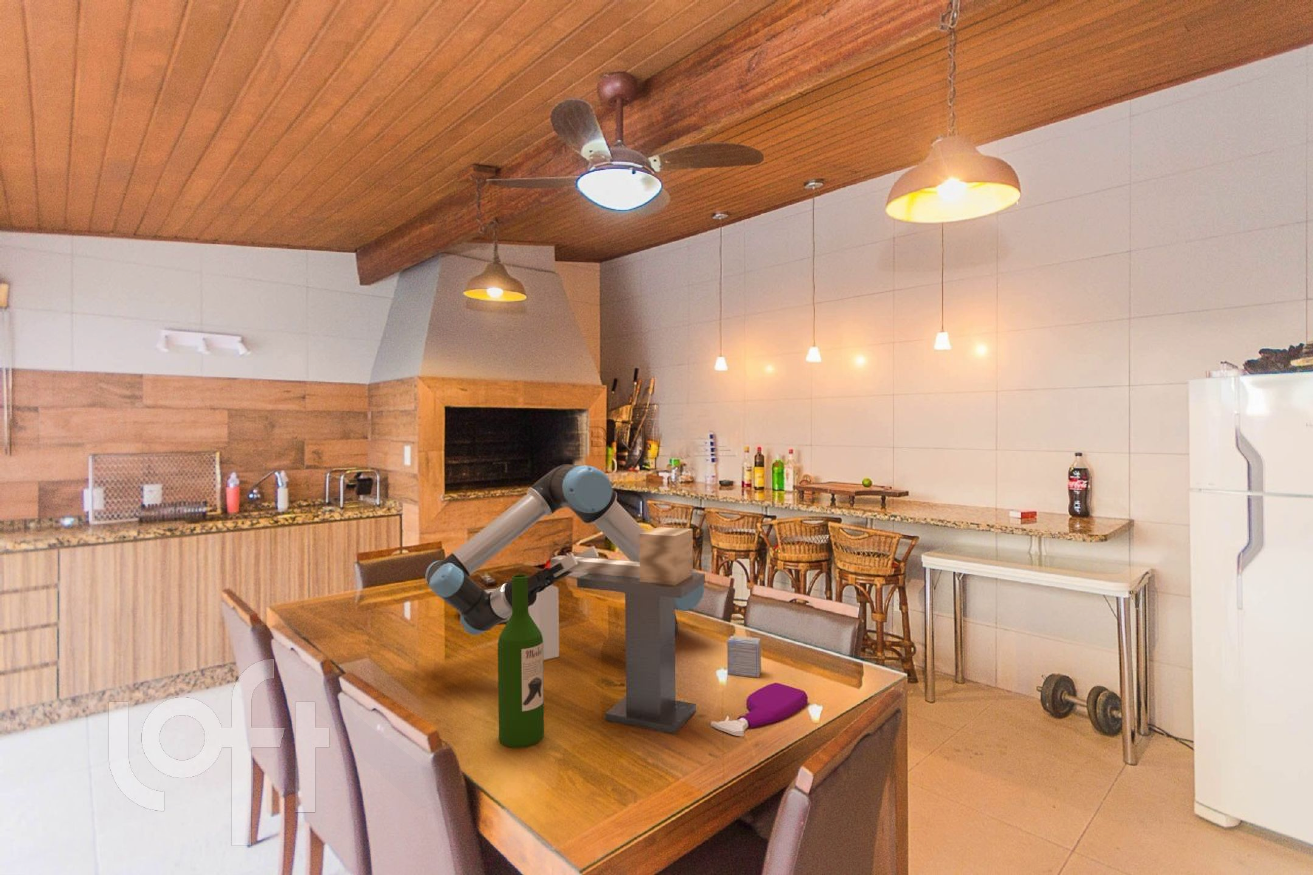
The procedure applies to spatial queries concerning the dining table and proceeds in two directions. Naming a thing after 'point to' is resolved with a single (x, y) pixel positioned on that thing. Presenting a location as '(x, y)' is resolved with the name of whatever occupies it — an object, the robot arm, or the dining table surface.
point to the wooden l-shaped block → (648, 558)
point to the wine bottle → (520, 674)
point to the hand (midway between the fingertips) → (585, 554)
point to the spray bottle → (765, 708)
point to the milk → (547, 620)
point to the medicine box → (744, 656)
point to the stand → (648, 651)
